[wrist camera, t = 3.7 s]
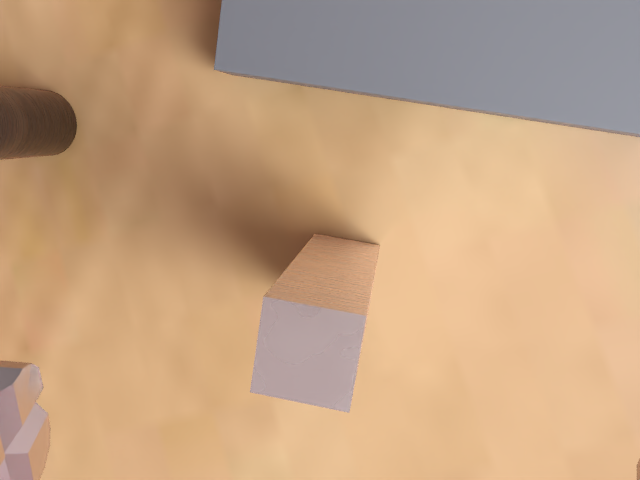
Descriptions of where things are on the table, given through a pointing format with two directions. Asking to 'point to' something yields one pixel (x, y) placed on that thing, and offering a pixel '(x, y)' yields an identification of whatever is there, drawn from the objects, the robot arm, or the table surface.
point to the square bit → (316, 324)
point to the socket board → (450, 54)
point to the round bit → (34, 123)
